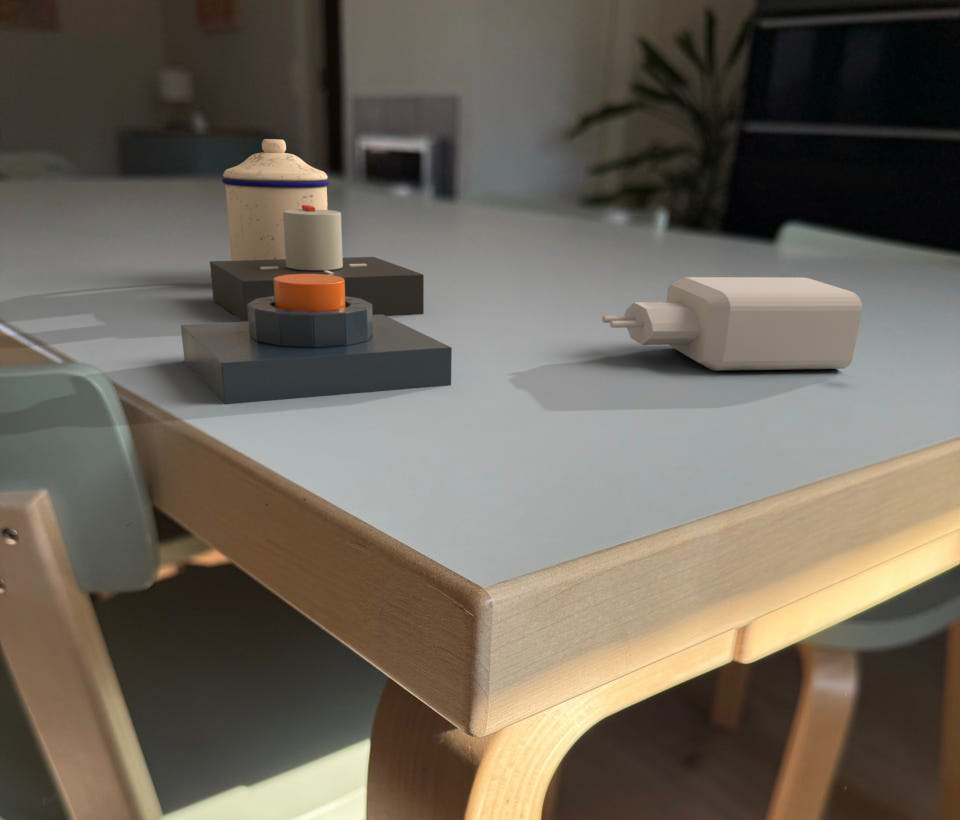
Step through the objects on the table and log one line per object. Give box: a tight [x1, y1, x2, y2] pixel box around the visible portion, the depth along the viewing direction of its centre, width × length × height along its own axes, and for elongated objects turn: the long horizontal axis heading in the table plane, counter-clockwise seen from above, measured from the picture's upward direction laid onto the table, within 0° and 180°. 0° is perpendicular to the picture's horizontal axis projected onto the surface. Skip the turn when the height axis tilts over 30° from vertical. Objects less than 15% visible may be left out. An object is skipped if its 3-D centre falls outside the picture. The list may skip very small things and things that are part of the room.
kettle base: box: [209, 256, 425, 322], centre depth 78 cm, size 14×11×3 cm
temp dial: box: [283, 205, 344, 271], centre depth 76 cm, size 4×4×4 cm
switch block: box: [180, 296, 453, 405], centre depth 58 cm, size 13×11×4 cm
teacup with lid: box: [221, 138, 330, 261], centre depth 87 cm, size 12×9×12 cm
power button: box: [273, 274, 345, 311], centre depth 56 cm, size 4×4×2 cm
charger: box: [601, 276, 863, 372], centre depth 64 cm, size 5×9×15 cm
